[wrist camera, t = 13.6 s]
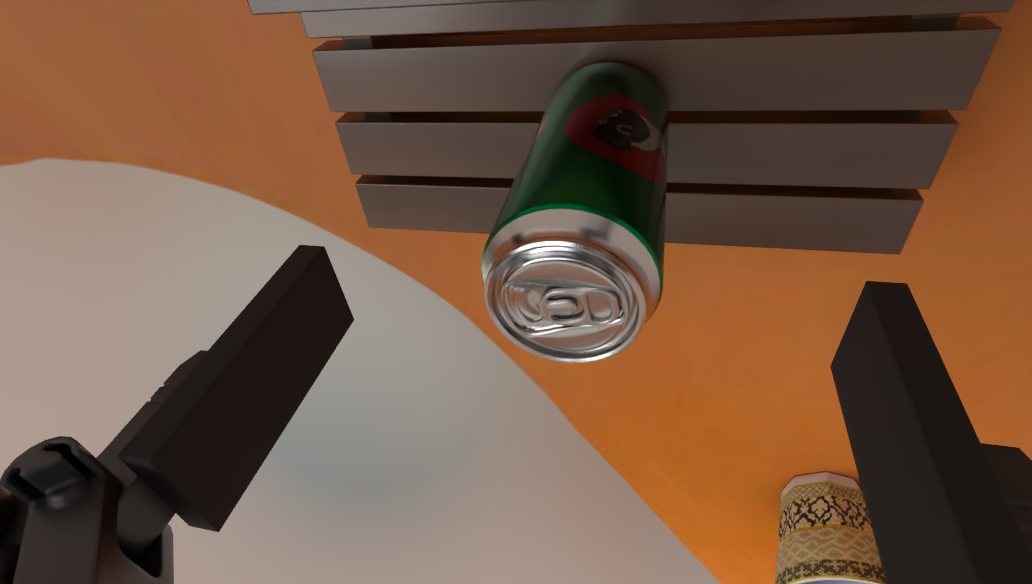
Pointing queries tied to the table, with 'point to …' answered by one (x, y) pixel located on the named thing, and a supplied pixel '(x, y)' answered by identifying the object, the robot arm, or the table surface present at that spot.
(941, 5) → the dark brown wooden bench
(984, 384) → the table surface
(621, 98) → the soda can
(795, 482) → the ceramic cup
